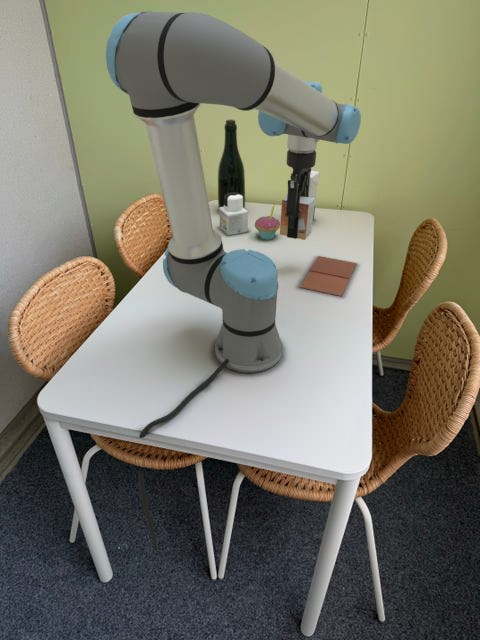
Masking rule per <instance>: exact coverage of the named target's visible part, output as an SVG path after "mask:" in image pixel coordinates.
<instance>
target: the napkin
mask: <svg viewBox="0 0 480 640" xmlns="http://www.w3.org/2000/svg"><path fill="white" fill-rule="evenodd" d="M356 266H357V262H353V261H347V260H342V259H336V258H330V257H326V256H321V255H318V256H317V258H316V260H315V261H314V262H313V264H312V266H311V267H310V269H309V271H308V273H307V275H306V276H305V278H304V279H303V281H302V283H301V284H300V285H299V288H300V289H304V290H310V291H313V292H318V293H323V294H328V295H332V296H336V297H337V296H338V297H343V295H344V293H345V291H346V288H347V286H348V284H349V281H350V280H351V277H352V275H353V274H354V270H355V268H356Z"/></svg>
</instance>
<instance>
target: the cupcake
mask: <svg viewBox="0 0 480 640" xmlns="http://www.w3.org/2000/svg"><path fill="white" fill-rule="evenodd" d="M274 211H275V204H273V205H272V206H271V211H270V215H267V216H262V217H258V219H256V220H255V222H254V227H255V229H256V230H257V231H258V234H259V237H260V239H261V240H265V241H266V240H272V239H274V237H275V235H276V233H277V231H278V230H280V221H279V220H278V219H277V218H275V217H274V216H273V214H274Z"/></svg>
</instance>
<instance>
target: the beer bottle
mask: <svg viewBox="0 0 480 640" xmlns="http://www.w3.org/2000/svg"><path fill="white" fill-rule="evenodd" d="M237 131H238V126H237V123H236V120H235V119H226V120H225V123H224V145H223V151H222V154H221V157H220V161H219V163H218V169H217V208H218V211H219V208H220V207H224V195H225V194H227V193H230V192H237V193H240V194H242V196H243V208H244V209H246V174H245V166H244V165H245V164H244V162H243V159H242V156H241V154H240V151H239V147H238V146H239V145H238V132H237Z"/></svg>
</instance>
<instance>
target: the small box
mask: <svg viewBox="0 0 480 640" xmlns="http://www.w3.org/2000/svg"><path fill="white" fill-rule="evenodd" d="M314 205H315V206H316V204H315V198H309V197H302V196H300V203H299V209H298V216H299V220H298V232H297V240H298V239H299V240H302V241H306V240H307V239H308V237H309V236H310V235H311V234H312V231H313V224H314V223H313V222H314V220H313V214H314V215H315V213H314ZM286 208H287V195H286V196H285V197H284V198H282V199H281V208H280V211H281V212H280V221H279V222H280V227H279V235H281V236H285V237H287V232H288V216H285V214H286Z"/></svg>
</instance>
